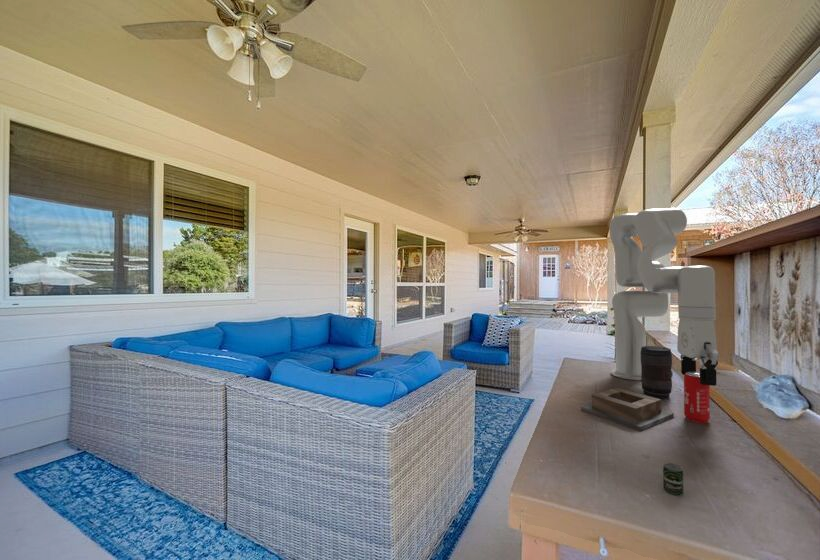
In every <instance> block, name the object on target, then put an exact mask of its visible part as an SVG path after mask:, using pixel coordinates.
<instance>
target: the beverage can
mask: <svg viewBox="0 0 820 560" xmlns="http://www.w3.org/2000/svg"><path fill="white" fill-rule="evenodd" d="M710 386H711V385H702V384H700V371H699V372H697V371H696V372H685V375H683V405H684V406H683V408H684V409H683V411H684V412H683V413H684V416H685V418H686V420H687V419H688V421H689V420H690V422H693V423H695V422H697V423H696V424H707V422H709V420H710V418H711V417H710V416H711V413H710V411H711V410H710V409H711V408H710V407H711V406H710V404H711V403H710V402H711V400H710V399H711V398H710V396H711V395H710V393H711V392H710Z"/></svg>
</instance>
